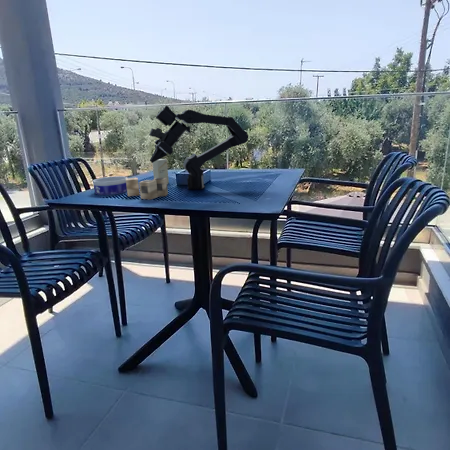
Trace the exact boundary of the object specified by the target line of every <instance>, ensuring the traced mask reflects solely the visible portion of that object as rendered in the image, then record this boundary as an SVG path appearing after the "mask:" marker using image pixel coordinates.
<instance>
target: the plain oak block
mask: <svg viewBox="0 0 450 450" xmlns="http://www.w3.org/2000/svg"><path fill="white" fill-rule="evenodd" d="M126 186H127V191H126V193H127V197H133V196H134V197H136V196H141V195H140V187H139V179H138V177H127V178H126Z"/></svg>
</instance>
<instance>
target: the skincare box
mask: <svg viewBox="0 0 450 450" xmlns="http://www.w3.org/2000/svg"><path fill="white" fill-rule="evenodd" d="M151 164H152V173H153V179H155V178H167V185H168V184H170V179H169V168H168V159H167V158H161V159H159V160H157V161H155V162H153V163H152V162H151Z"/></svg>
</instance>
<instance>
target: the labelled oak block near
mask: <svg viewBox="0 0 450 450" xmlns="http://www.w3.org/2000/svg"><path fill="white" fill-rule="evenodd" d="M138 184H139V193H140V195H139V196H140V199H141V200H149V201H150V200H153V199H156V198H158V197H159V196H158V192H157V182H156V180H153V179H145V180H142V181H138Z"/></svg>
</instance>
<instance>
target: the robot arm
mask: <svg viewBox="0 0 450 450" xmlns="http://www.w3.org/2000/svg"><path fill="white" fill-rule="evenodd" d="M155 119H157V120H158V121H159V122H160V123H161V124H162V125H164V126H165V127H167V126H168V127H170V128H169V129H168V130H167V131H164V132H163V131H162V129H161V128H159V127H156V128H151V129H150V132H149V135H148V136H150V137H153V138H156V140H155V141H154V148H155V149H154V151H153V152H152V153H153V154H152V155H151V157H150V159H149V161H150V162H151V164H152V163H153V162H155V161H157V160H159V159H164V158H165V157H167V156H168V155H169V156H171V155H172V154H173V153H174V151H173V150H174V148H173V146H174V145H175V144H176V143H178V142H179V139H180V138H181V137H182V136H183V135H184V134H185V132H187V133H188V134H191V126H188V125H186V124H202V123H203V124H208V125H209V124H210V125H211V124H212V125H219V126H226V128H227V130H228V132H229V133H230V135H228V137H227V138H226V139H225V140H223V141H221V142H220V143H218V144H216V145H215V146H213V147H211V148H209V149H208V150H206V151H204V152H203V153H200V154H196V153H192V154H191V155H190V156H187V157H185V158H186V159H184V160H183V164H182V166H183V169H184V170H185V171H187V173H188V175H187V178H186V180H187V190H203V189H204V188H205V185H204V184H205V183H204V182H205V181H204V170H203V169H202V167H203V165H204V164H205V163H207V162H208V161H210V160H212V159H214V158H215V157H218V156H219V155H220V154H223V153H224V152H226V151H227V150H229V149H231V148H234V147H237V146H241V145H243V144H246V143H247V142H248V140H249V134H248V132H247V131H246V130H243V128H242V127H241V126H240V124H239V123H238V122H237V121H236V120H235V118H233V117H232V116H220V115H213V114H212V115H211V114H204V113H203V112H202V113H201V112H199V111H196V110H193V109H186V110H185V109H184V111H182V113H175V112H174V111H173V110H171V108H170V107H169V106H168V105H165V106H164V107H163V108H162V109H161V110H160V111H159V112H158V113H157V114H156V117H155ZM180 121H181V122H180Z"/></svg>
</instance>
